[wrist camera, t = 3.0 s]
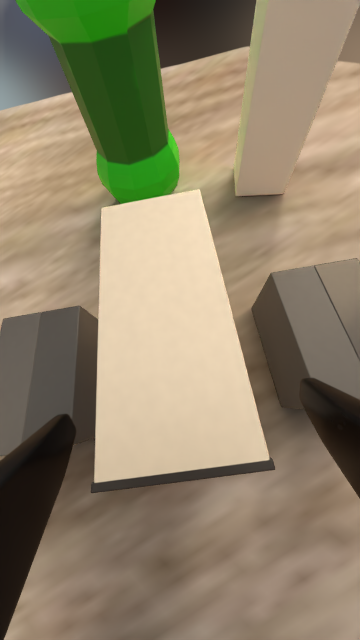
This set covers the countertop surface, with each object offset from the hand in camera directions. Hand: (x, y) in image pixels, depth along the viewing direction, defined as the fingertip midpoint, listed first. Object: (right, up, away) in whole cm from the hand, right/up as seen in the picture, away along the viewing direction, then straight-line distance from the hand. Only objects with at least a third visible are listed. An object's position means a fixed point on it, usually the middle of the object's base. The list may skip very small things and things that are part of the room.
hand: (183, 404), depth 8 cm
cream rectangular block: (+1, -1, +10) cm, 11 cm away
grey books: (+1, -1, +10) cm, 11 cm away
